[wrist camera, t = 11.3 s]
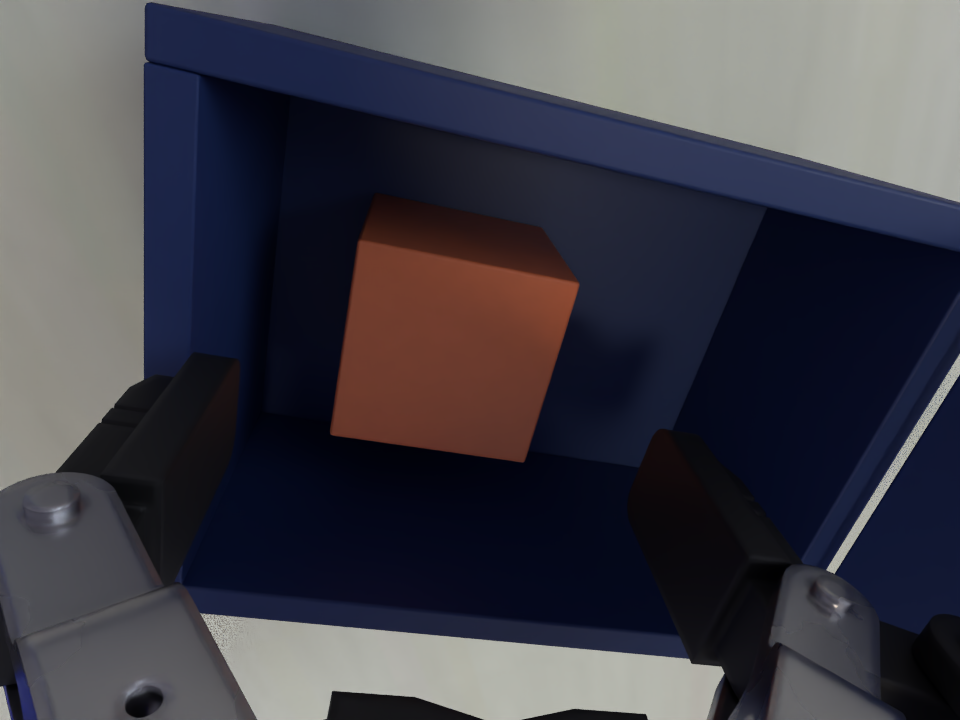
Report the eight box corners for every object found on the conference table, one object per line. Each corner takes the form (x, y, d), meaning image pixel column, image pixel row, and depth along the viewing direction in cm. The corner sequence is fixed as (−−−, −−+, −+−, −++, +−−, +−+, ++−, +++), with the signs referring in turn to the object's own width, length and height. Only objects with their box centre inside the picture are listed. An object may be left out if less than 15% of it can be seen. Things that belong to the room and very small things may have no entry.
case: (241, 415, 21) (143, 609, 14) (271, 23, 16) (142, -1, 9) (660, 476, 24) (766, 667, 16) (798, 157, 19) (1040, 225, 11)
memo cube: (350, 349, 20) (328, 436, 15) (374, 191, 18) (357, 239, 13) (503, 374, 20) (525, 464, 16) (543, 227, 18) (581, 283, 14)
